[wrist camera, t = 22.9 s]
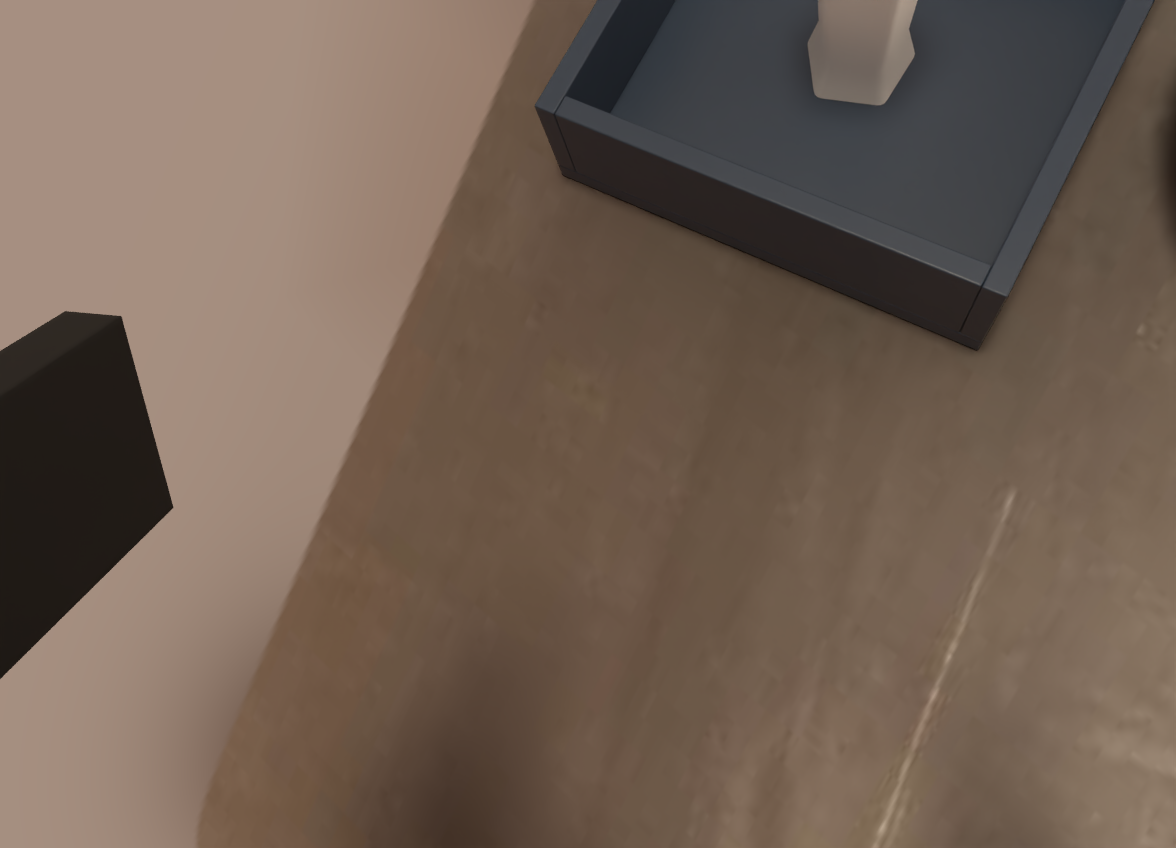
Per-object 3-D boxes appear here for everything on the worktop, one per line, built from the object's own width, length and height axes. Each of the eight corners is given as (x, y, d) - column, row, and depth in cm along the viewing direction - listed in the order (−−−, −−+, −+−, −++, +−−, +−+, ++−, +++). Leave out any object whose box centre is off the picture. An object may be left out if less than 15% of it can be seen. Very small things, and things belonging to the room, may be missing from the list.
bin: (562, 175, 39) (533, 105, 35) (757, -161, 42) (755, -266, 37) (977, 351, 35) (1007, 297, 30) (1169, -38, 37) (1224, -142, 33)
